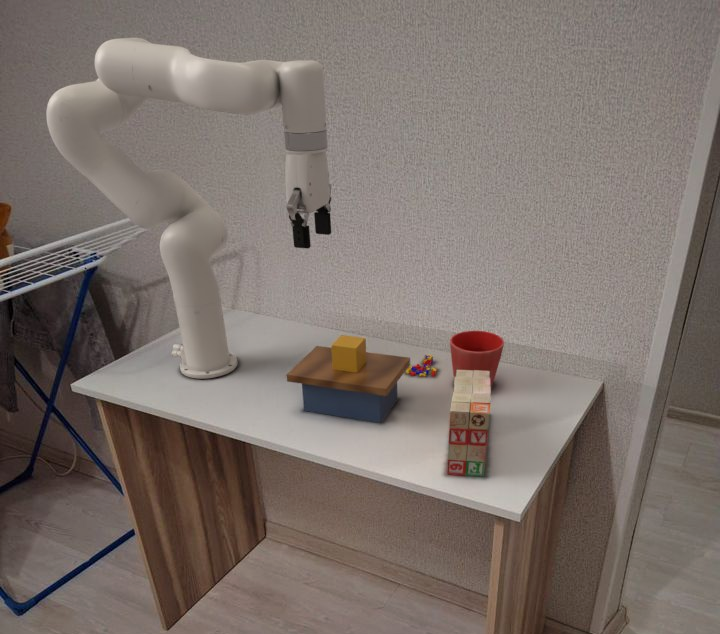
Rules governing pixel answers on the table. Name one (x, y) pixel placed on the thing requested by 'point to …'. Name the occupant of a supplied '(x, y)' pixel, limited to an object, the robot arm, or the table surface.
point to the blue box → (348, 402)
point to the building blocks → (427, 361)
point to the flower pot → (476, 352)
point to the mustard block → (349, 353)
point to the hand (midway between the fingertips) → (313, 240)
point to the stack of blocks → (469, 423)
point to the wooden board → (369, 379)
